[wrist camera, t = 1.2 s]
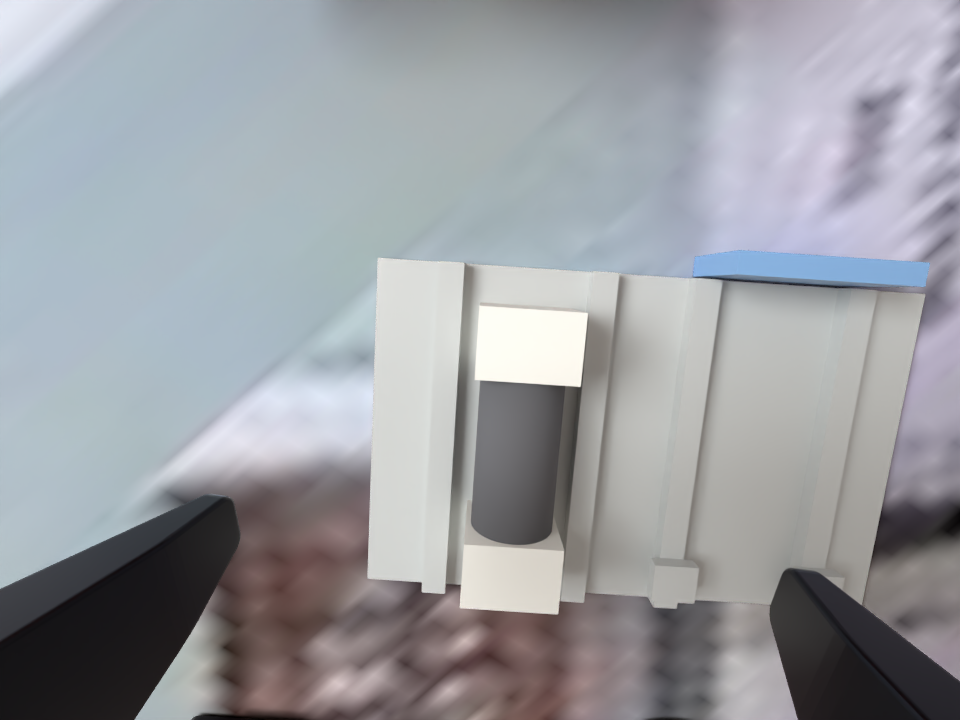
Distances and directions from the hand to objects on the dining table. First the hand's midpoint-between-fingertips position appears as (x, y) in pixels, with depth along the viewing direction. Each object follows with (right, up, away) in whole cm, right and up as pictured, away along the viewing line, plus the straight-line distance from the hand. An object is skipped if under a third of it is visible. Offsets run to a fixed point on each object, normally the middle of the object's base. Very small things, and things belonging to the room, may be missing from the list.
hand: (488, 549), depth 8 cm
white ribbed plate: (+6, 0, +13) cm, 14 cm away
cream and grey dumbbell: (+1, 0, +12) cm, 12 cm away
